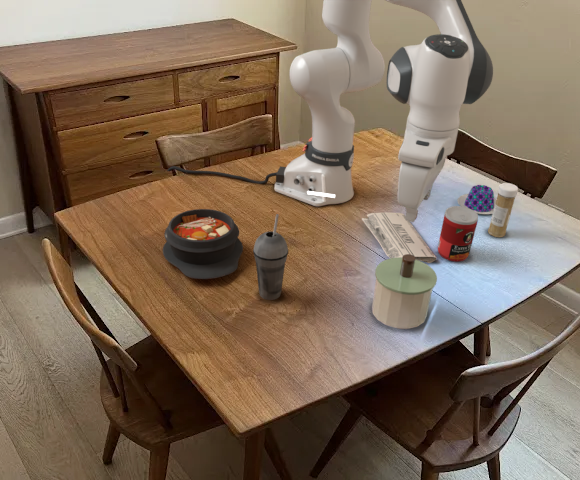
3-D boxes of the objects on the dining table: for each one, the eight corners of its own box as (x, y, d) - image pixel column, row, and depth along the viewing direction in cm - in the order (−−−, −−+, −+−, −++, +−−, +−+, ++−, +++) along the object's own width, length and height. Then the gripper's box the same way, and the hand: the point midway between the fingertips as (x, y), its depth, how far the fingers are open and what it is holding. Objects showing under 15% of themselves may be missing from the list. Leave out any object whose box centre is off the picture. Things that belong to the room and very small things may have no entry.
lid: (366, 286, 120) (369, 264, 117) (385, 256, 130) (388, 235, 126) (427, 304, 117) (431, 282, 113) (442, 271, 126) (447, 250, 123)
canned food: (450, 265, 144) (459, 225, 137) (430, 248, 150) (438, 209, 143) (475, 258, 147) (485, 218, 140) (454, 242, 153) (463, 203, 146)
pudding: (499, 220, 163) (503, 202, 160) (454, 211, 166) (458, 194, 162) (502, 200, 172) (506, 183, 169) (459, 192, 175) (463, 176, 172)
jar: (364, 320, 126) (369, 283, 120) (381, 291, 134) (387, 255, 129) (417, 336, 122) (425, 299, 117) (431, 306, 131) (439, 269, 125)
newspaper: (359, 220, 159) (361, 212, 158) (402, 221, 163) (404, 212, 161) (388, 267, 142) (391, 258, 140) (436, 267, 145) (438, 258, 143)
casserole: (156, 233, 150) (152, 203, 145) (230, 224, 155) (229, 194, 150) (172, 291, 131) (168, 259, 126) (255, 278, 136) (255, 247, 131)
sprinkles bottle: (508, 235, 157) (522, 188, 148) (496, 239, 154) (509, 192, 146) (495, 227, 160) (508, 180, 151) (483, 231, 157) (495, 184, 149)
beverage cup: (252, 285, 134) (252, 205, 122) (285, 285, 135) (288, 205, 123) (253, 306, 128) (253, 223, 116) (287, 305, 129) (291, 223, 117)
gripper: (427, 115, 114) (416, 182, 122) (395, 155, 98) (385, 228, 107) (461, 122, 112) (447, 189, 120) (433, 163, 97) (419, 237, 105)
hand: (417, 208), depth 113 cm, fingers open, 8 cm apart
